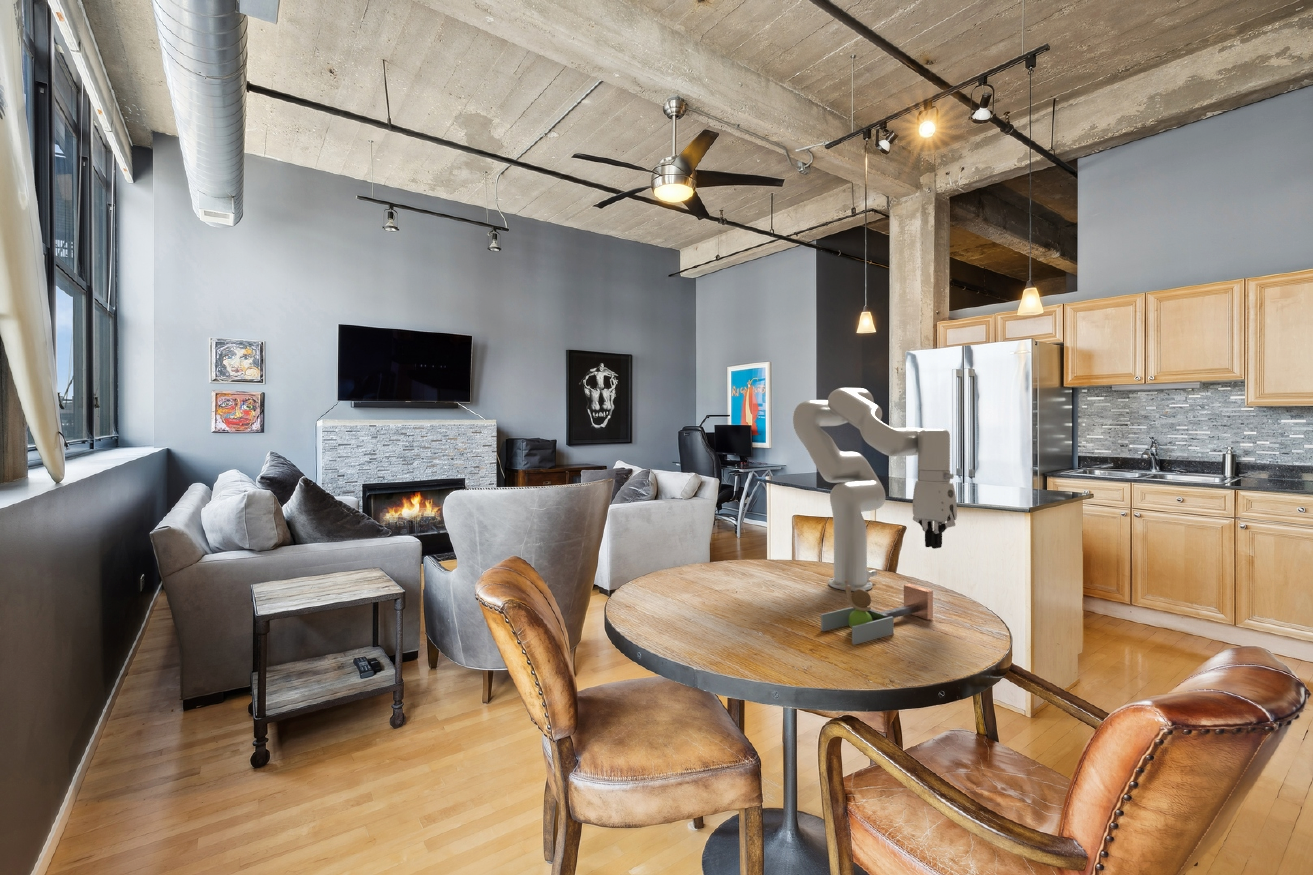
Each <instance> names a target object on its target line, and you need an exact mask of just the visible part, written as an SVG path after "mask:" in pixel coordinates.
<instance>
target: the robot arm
mask: <svg viewBox="0 0 1313 875" xmlns="http://www.w3.org/2000/svg"><path fill="white" fill-rule="evenodd" d="M882 418H883V410H882V408H881V407H880V406H879V405H878V404H876V403H875V400H874V397H873V395H872V393H871V392H870V391H869V390H867V389H866V388H861V387H839V388H837V389H835V390H833V391H831V392H830V394H829V395H828V397H827V399H810V400H804V401H802V402H801V403H799V404H797V405H796V407H795V409H794V411H793V416H792V424H793V429H794V432H795V434H796V435H797V438H798V439H799V440H800V441H801V443H802V444H803V446H804V447H805V448H806V450H807V452H808V453H809V456H810V458H811V459H812V462H813V463H814V465H815V466H816V468H817V470H818V472H819V474H820V476H821V477H822V478H823V480H824V481H826V482H828V483H833V484H836V485H834V486H833V488H832V489H831V490H830V492H829V493H830V494H829V502H830V506H831V511H832V518H833V520H832V521H833V577H831V578H829V579H828V585H829V586H830V587H832V588H834V589H837V590H841V591H846V589H845V586H846V585H850V586H851V592H854V591H855V590H858V589H863V590H865V591H868V590H871V589H872V588H873V582H872V581H871V580H870V578H872V577H877V575H878V572H877V570H876V569H872V570H869V569H868V534H867V533H868V531H867V529H868V528H867V524H866V521H865V519H864V517H863V514H862V513H863V512H870V511H877V510H878V509H880V508H882V507H883V506H884V504H885V502H886V490H885V488H884V486H883V485H882V484H883V483H882V482H881V481H880V479H879V477H878V476H877V473H875V471H874V469H873V468H872V466H871V464H870V463H869V462H868V460H867V458H866V457H864V455H863V454H861V453H860V452H856V451H851V450H850V451H843V450H840V449H839V447H838V446H837V445H836V443H835V441H834V439H833V438H832V437H831V436H830V435H829V433H828V432H826V431H825V430H823V428H821V427H836V426H842V425H843V424H847V423H849V424H850V425H851V426H854V427H855V428H857V429H858V430H859V432H860V435H861V437H862V438H863V440H864V441H865V443H867V444H868V445H869V446H871V448H874V449H875V450H876V451H878V452H879V453H881V454H883V455H886V456H888V457H907V456H908V457H911V456H917V480H916V481H915V482H914V483H915V484H914V488H913V496H912V514H913V517H912V520H913V521H914V522H915V523H917V524H919V525H920V527H921V529H922V531H923V532H924V546H925V548H932V549H933V550H934V549H935V550H936V549H940V548H942V545H943V533H945V531H946V530H947V529H949V528H953V527H954V528H955V527H956V522H955V521H957V518H958V509H957V508H958V506H957V496H956V491H955V487H954V483H953V482H951V480H953V479H954V478H955V477H954V474H953V473H951V465H950V464H951V436H950V434H951V433H950V431H948V430H947V429H945V428H921V427H895V428H894V427H891V426H889V425H888V424H886V423H884V422H883V421H882ZM845 580H848V582H847V584H846V585H845Z"/></svg>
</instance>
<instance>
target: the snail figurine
mask: <svg viewBox="0 0 1313 875" xmlns="http://www.w3.org/2000/svg"><path fill="white" fill-rule="evenodd" d="M847 582H848V580H845V585H846V584H847ZM845 589H846V590H845V594H846V598H847V600H848V603H849V604H850V606H851V607H853V608H855V609H856V610H854V611H853V612H851V614H850V615H849V619H848V621H849V625H848V626H849V627H850V628H851V629H852V626H856V625H860V624H864V623H868V622H872V621H873V620H872V617H871V615H870V614H869V613H868V612H867V611H869V610H870V609H872V607H871V606H870V605H871V602H872V597H871V594H870V593H869V592H868V590H863V589H858V590H855V591H851V586H850V585H846V586H845Z"/></svg>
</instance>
